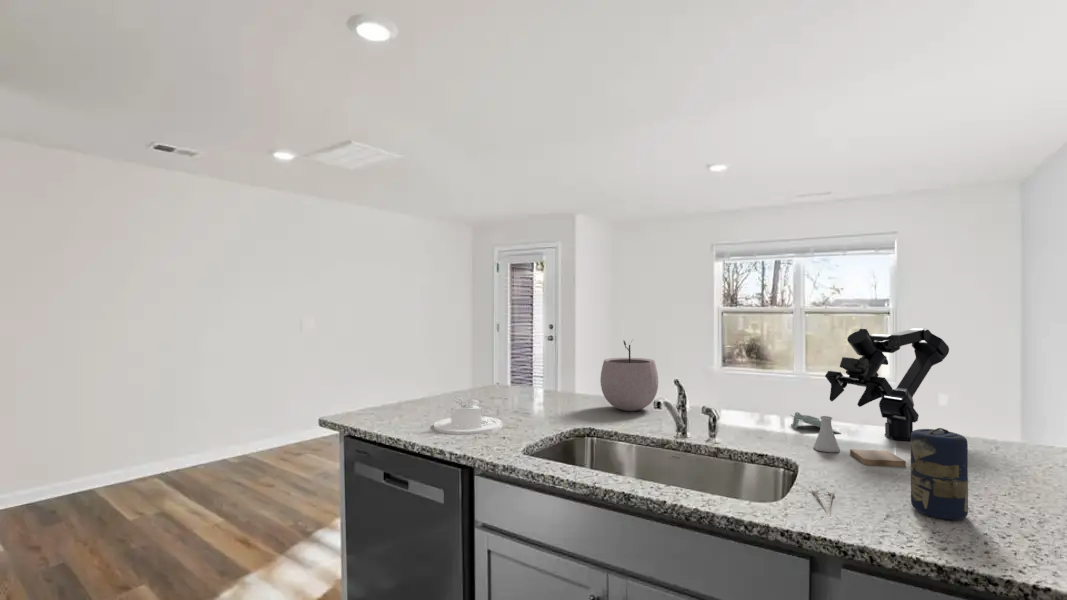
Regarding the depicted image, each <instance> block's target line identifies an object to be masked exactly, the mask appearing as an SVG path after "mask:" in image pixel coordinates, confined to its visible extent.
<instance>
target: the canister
mask: <svg viewBox="0 0 1067 600" xmlns="http://www.w3.org/2000/svg"><path fill="white" fill-rule="evenodd" d="M968 447H969V446H968V440H967V438H966V436H964V435H962V434H959V433H956V432H952V431H949V430H948V429H945V428H942V427H938V428H935V429H933V428H918V429H915V430H914V429H913V432H912V433H911V441H910V467H909V468H910V504H911V506H912V507H913V508H914V509H915V510H916V511H918V512H920V513H922V514H924V515H927V516H930V517H934V518H939V519H944V520H963V519H965V518H966V517H967V516H968V514H969V473H968V468H969V466H968V464H969V463H968V461H969V459H968V457H969V454H968V453H969V452H968V450H969V448H968Z"/></svg>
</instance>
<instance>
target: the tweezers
mask: <svg viewBox="0 0 1067 600" xmlns="http://www.w3.org/2000/svg"><path fill="white" fill-rule="evenodd" d="M811 493H812V494H813V495H814V496H815V497H816V499H817V500H818V501H819V503H820V505H821V506H822V508H823V510H824V512H825V514H826V515H828V511H827V510H826V507H825V505H824V503H823V501H822V500H821V498H820V496H819V494H818V493H819V490H811ZM827 495H829V496H830V501H829V516H830V517H832V509H831V508H832V500H833V498H834V496H835V495H836V493H835V492H829V491H827Z"/></svg>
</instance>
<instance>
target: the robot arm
mask: <svg viewBox="0 0 1067 600" xmlns="http://www.w3.org/2000/svg"><path fill="white" fill-rule="evenodd" d="M870 334H871V333H869V331H868V329H867V328H860V329H858V330H857V331H855V332H852V333H851V334H850V335H848V336H847V342H848V344H849V345H850V346H851V348H852V349H853V351H854V352H855V353H856V355H858V356H860V357H859V358H854V357H845V356H842V357H841V361H840V364H839V368H842V369H844V370H845V374H846V375H848V376H844V375H843V373H842V372H841V371H835V370H828V371H827V372H826V374H825V375H824V377H825V378H826V380H827V381H828V382H829V383H830V391H829V393H830V394H829V401H830V402H834V401H835V400H836V399H838V397H839V396H840V395H842V393H844V391H845V388H846V387H847V386H848V385H855V386H857V387H863V388H865V390H864V392H863V393H862V395H861V397H860V398H859V400H858V402H857V407H859V408H860V407H861V408H862V407H863V406H865V405H867V404H869V403H871V402H873V401H875V400H877V399H880V398H881V399H880V400H879V402H878V407H879V411H880V414H881V415H880V416H881V418H883V419H884V418H886V422H885V423H884V426H885V427H884V431H885V432H884V436H885V437H887V438H889V439H890V440H893V441H910V442H911V433H912V432H913V431H914V429H913V428H914V426H913V425H914V423H916V422H918V420H919V413H918V412H917V411H916V409H915V408H914V407H915V403H914V399H913V397H914V396H915V394H916V392H917V391H918V389H919V388H920V386H921V384H922V382H923V381H924V380H925V378H926V377H927V375H928V373H929V372H930V370H931V369H932V367H933V366H935V365H937V364H939V363H942V362H943V361H944V360H945V358H946V357H947V356H948V354H949V353H950V348H949V345H948V344H947V343H946V342H945V340H943V338H941V337H939V336H937V335H935V334H933V333H932V332H931V331H930V329H928V328H927V329H926V328H918V327H917V328H916V327H915V328H914V327H913V328H910V329H908V330H904V331H899V332H895V333H891V334H884V333H883V334H879V333H873V334H871V335H870ZM910 344H911V347H912V348H913V349H914V351H913V352H914V355H915V359H914V360H913V362H912V363H911V364H910V366H909V368H908V369H907V371H906V373H905V374H904V375H903V377H902V379H901V380H900V382H899V383H898V384H897V386H896V388H893V387H892V386H891V384H890V383H889V381H888V380H887V379H886V377H882V376H879V373H878V372H879V369H880V368H881V366H882V365H886V366H888V365H889V361H888V359H887V355H885V354H884V353H888V354H893V353H896V352H897V351H899V350H900V349H901V347H903V346H907V345H910Z"/></svg>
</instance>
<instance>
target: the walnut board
mask: <svg viewBox="0 0 1067 600" xmlns="http://www.w3.org/2000/svg"><path fill="white" fill-rule="evenodd" d="M849 455H850V456H852V457H853V458H854V459H855V460H857V461H859V462H861V463H862V464H863V465H866V466H882V467H885V466H886V467H901V468H902V467H904V468H905V467H907V463H906V460H905V459H903V458H901V457H899V456H898V455H896V454H894V453H892V452H890V451H889V450H879V449H878V450H873V449H855V448H853V449H852V448H851V449H849Z"/></svg>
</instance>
